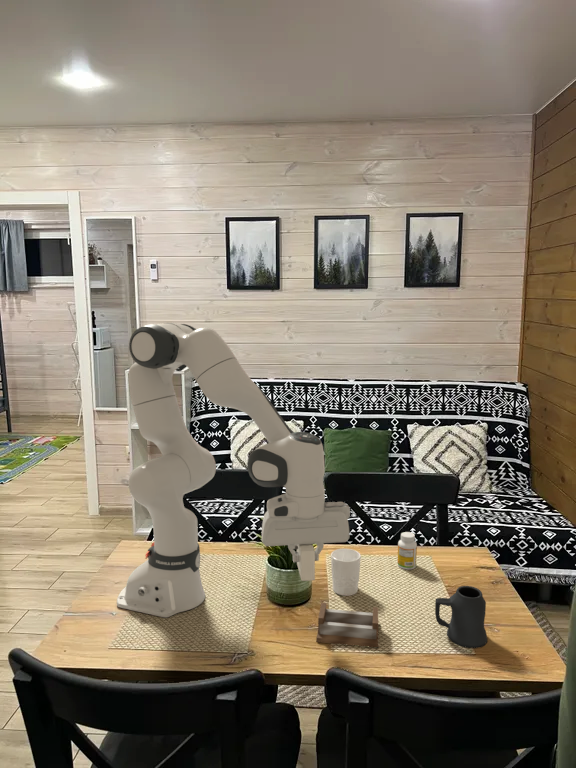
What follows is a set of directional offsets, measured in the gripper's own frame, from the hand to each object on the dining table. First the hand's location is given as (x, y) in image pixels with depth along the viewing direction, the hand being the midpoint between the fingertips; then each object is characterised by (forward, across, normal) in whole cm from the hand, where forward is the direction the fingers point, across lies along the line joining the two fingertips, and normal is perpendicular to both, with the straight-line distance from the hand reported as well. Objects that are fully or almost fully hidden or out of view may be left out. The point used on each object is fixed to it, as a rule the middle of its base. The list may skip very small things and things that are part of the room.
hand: (305, 560), depth 134 cm
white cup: (+18, -13, -18) cm, 29 cm away
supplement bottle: (+18, -34, -30) cm, 49 cm away
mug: (+18, -36, +6) cm, 41 cm away
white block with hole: (+3, 0, 0) cm, 3 cm away
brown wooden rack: (+18, -10, +1) cm, 20 cm away
